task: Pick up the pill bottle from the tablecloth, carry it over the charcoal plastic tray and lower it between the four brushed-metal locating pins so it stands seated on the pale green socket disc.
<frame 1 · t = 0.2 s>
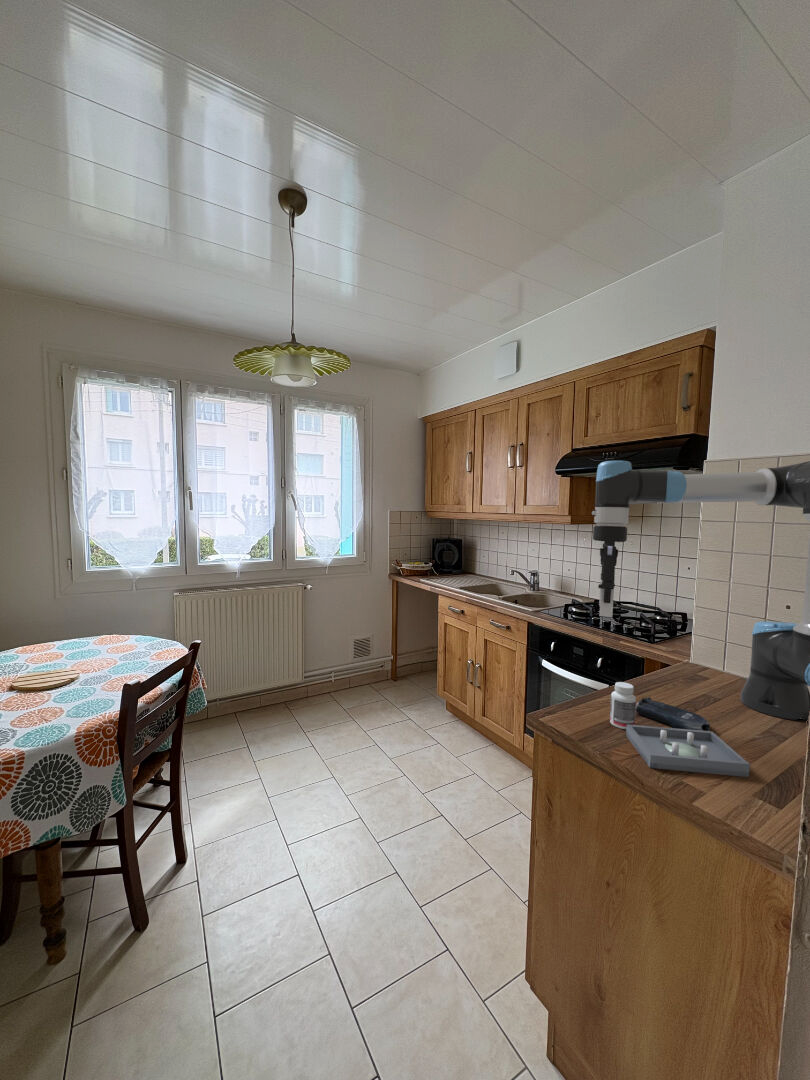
hand: (605, 611, 108), 26 cm above the counter, fingers open, 13 cm apart
pill bottle: (622, 725, 105), on the counter
tray: (682, 754, 92), on the counter
electronic device: (672, 723, 108), on the counter
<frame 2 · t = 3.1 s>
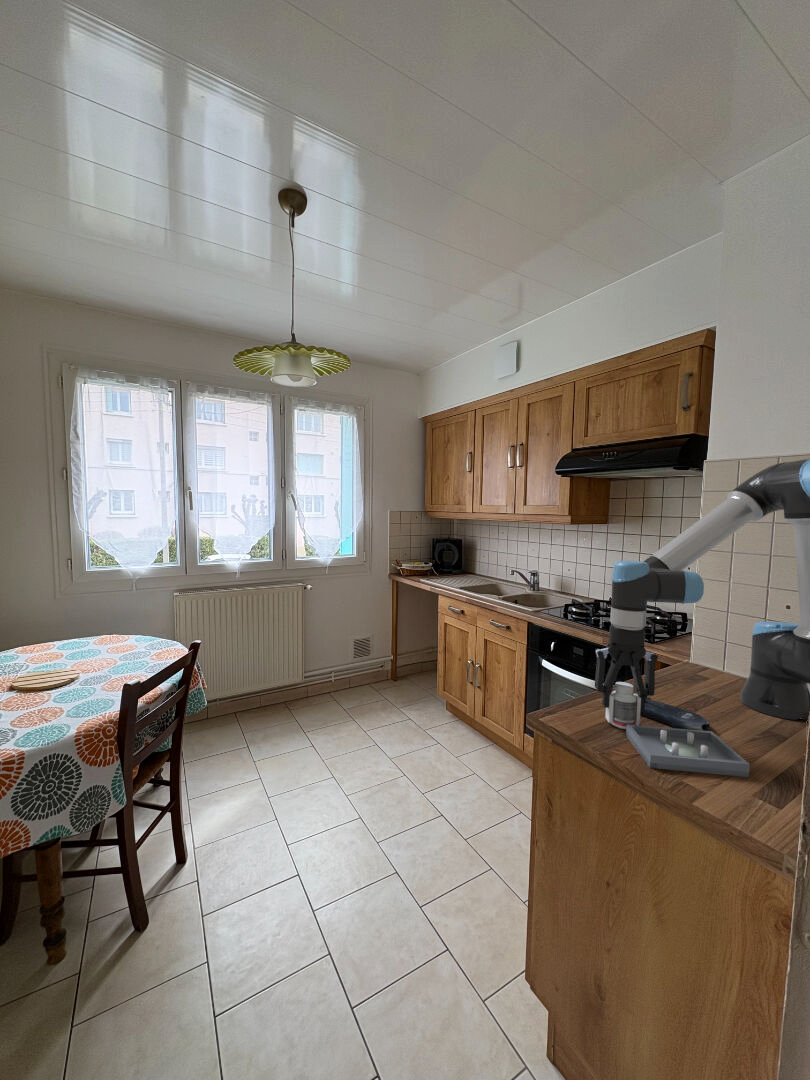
hand: (622, 721, 105), 1 cm above the counter, fingers closed on pill bottle, 5 cm apart
pill bottle: (622, 725, 105), on the counter, touching gripper
everything else where it was.
when the fingers open (4 cm above the counter, at t = 7.1 s): pill bottle drops 2 cm, resting on tray.
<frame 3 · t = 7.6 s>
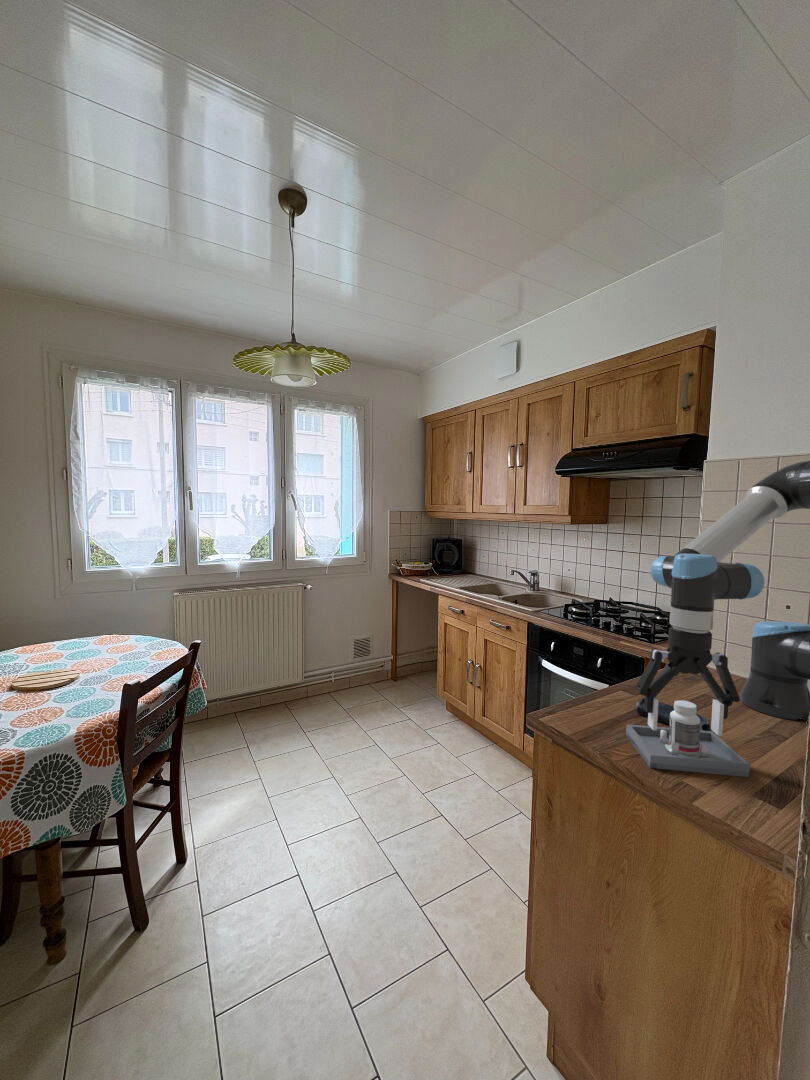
hand: (683, 730, 92), 5 cm above the counter, fingers open, 12 cm apart
pill bottle: (684, 750, 92), point 1 cm above the counter, touching tray
everything else where it was.
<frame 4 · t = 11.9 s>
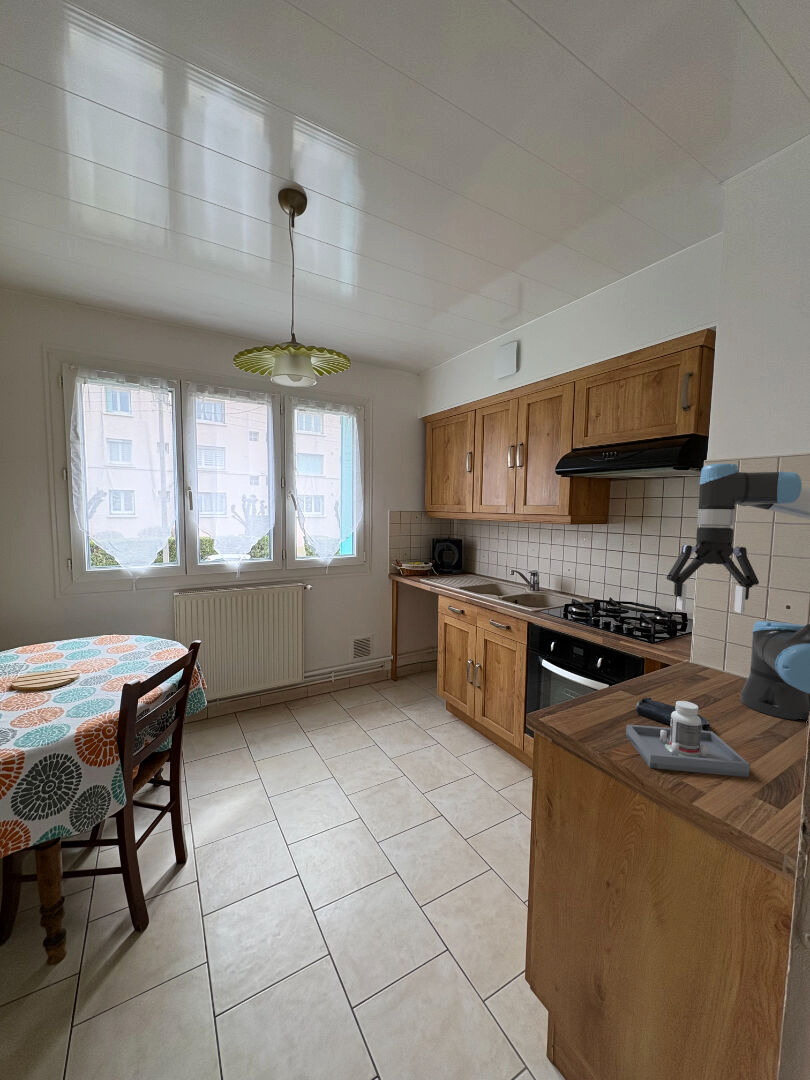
hand: (709, 611, 111), 27 cm above the counter, fingers open, 13 cm apart
nothing on the counter moved.
at the end: pill bottle 0.2 cm off-centre on the tray, point 0.9 cm above the tray's base; pill bottle tilted 0°; the gripper is holding nothing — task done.
